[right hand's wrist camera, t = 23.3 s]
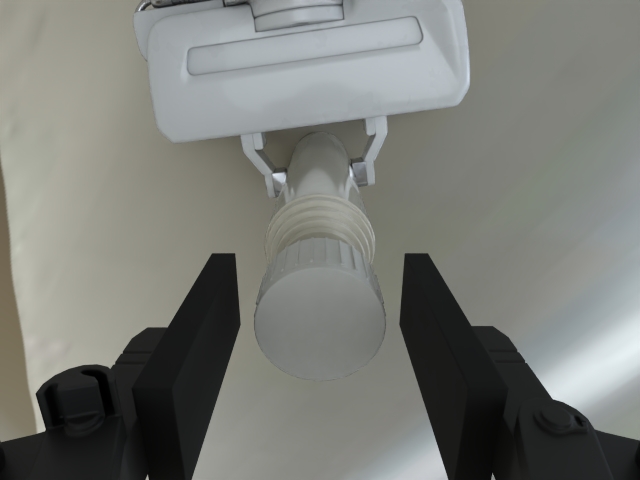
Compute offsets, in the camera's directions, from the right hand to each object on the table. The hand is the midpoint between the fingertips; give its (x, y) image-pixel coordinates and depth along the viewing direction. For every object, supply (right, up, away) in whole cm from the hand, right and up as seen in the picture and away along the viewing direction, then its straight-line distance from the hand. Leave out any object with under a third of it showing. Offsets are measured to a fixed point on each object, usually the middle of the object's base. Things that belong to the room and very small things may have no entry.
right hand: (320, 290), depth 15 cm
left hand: (0, +5, +16) cm, 17 cm away
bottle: (0, +9, +22) cm, 24 cm away
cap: (0, -1, -2) cm, 2 cm away
